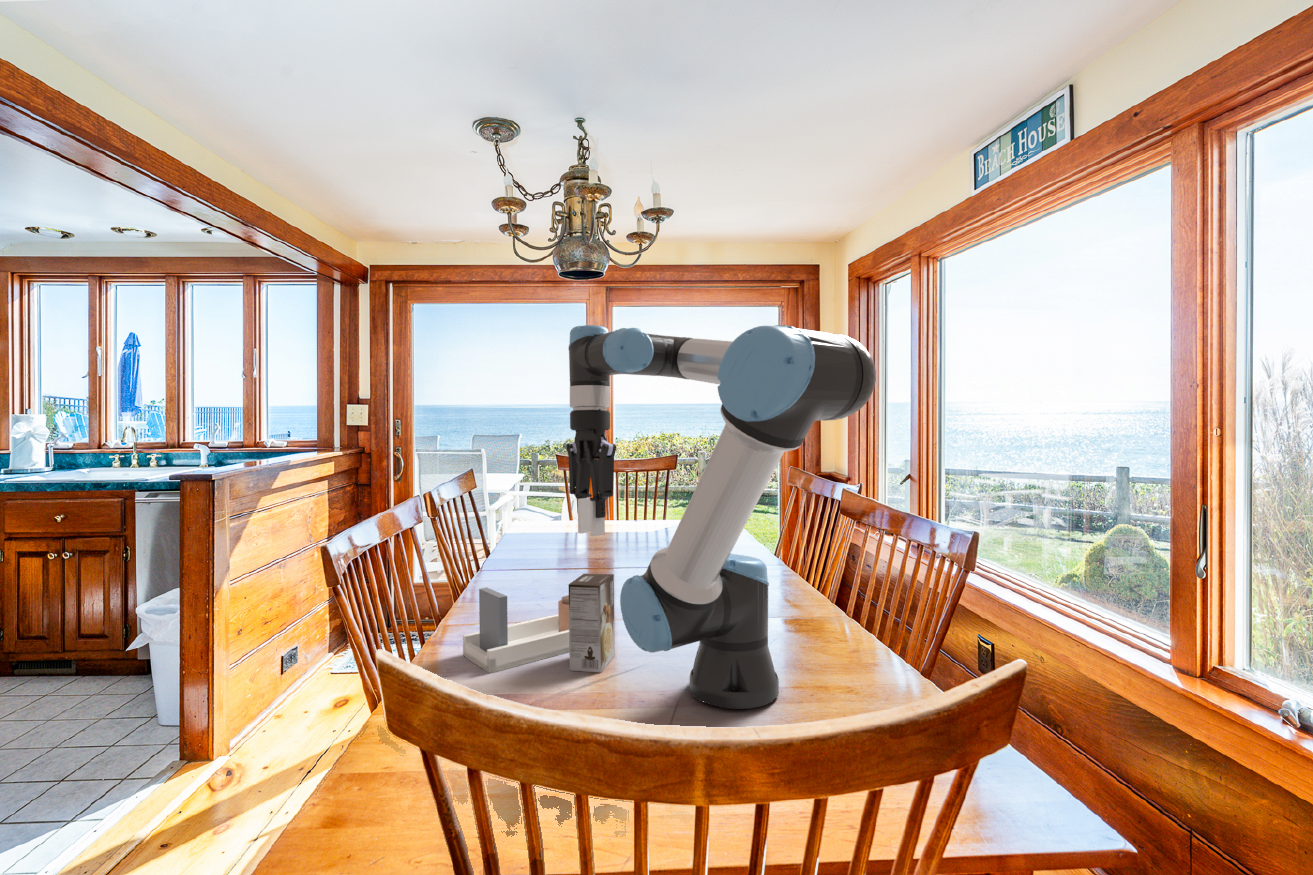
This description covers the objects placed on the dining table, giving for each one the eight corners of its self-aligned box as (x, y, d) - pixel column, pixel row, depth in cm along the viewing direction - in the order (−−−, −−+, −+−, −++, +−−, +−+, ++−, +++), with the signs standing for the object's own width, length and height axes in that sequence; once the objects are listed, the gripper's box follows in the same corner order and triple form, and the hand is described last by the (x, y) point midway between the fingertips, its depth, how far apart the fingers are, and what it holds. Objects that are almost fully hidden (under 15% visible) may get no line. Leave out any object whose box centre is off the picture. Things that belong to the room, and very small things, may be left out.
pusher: (507, 658, 118) (507, 596, 118) (499, 660, 117) (499, 597, 117) (487, 646, 125) (486, 587, 124) (479, 648, 124) (479, 588, 123)
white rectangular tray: (607, 641, 131) (606, 613, 130) (489, 673, 114) (489, 640, 114) (575, 628, 140) (575, 601, 140) (463, 655, 123) (462, 625, 123)
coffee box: (584, 653, 124) (583, 572, 124) (615, 655, 122) (614, 573, 122) (568, 671, 115) (567, 583, 115) (602, 673, 113) (601, 585, 113)
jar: (592, 635, 132) (592, 598, 132) (568, 641, 128) (568, 603, 128) (577, 628, 136) (576, 592, 136) (553, 634, 133) (552, 597, 133)
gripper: (632, 408, 114) (634, 536, 114) (582, 411, 127) (583, 527, 127) (598, 407, 109) (600, 541, 110) (550, 410, 122) (551, 531, 122)
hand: (591, 533), depth 118 cm, fingers open, 3 cm apart
